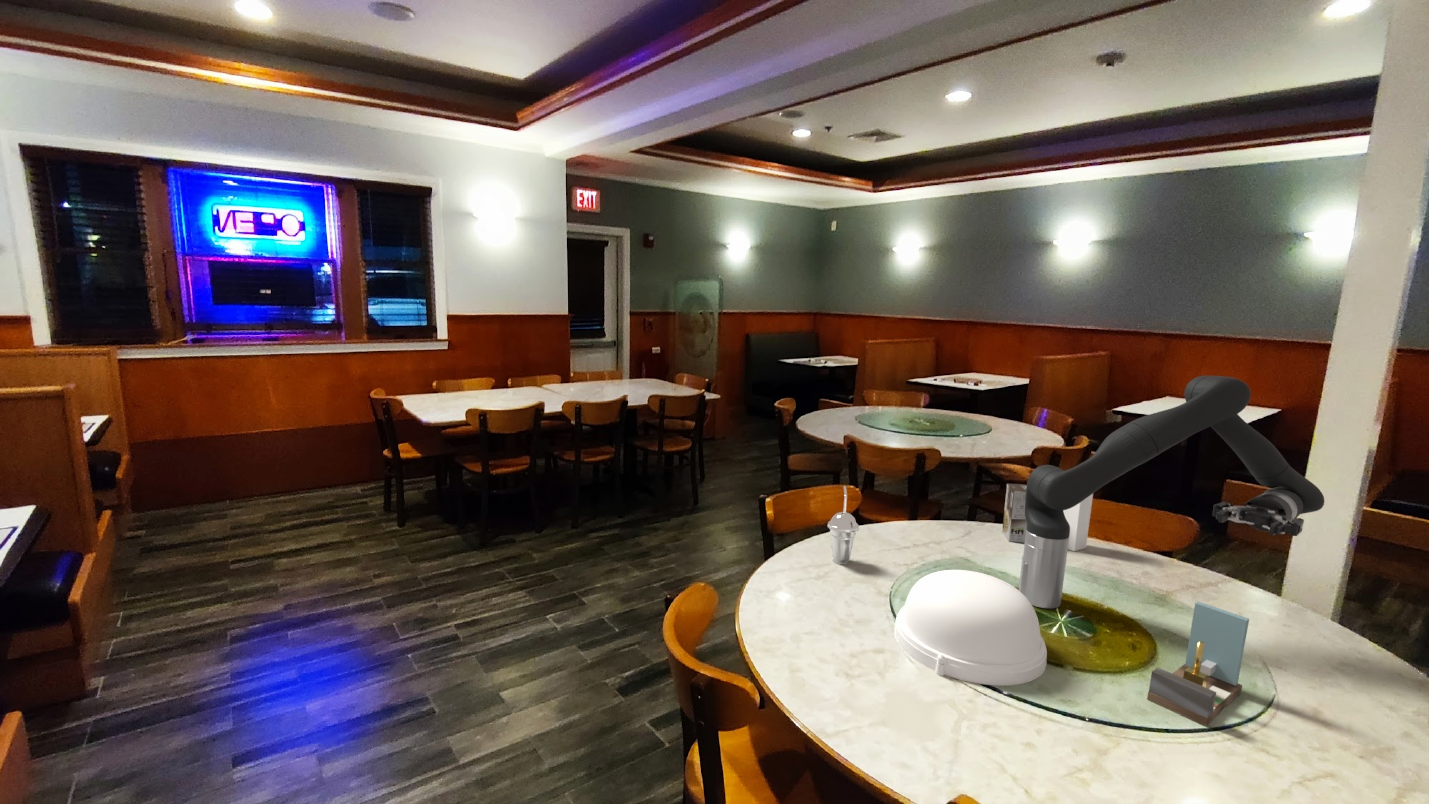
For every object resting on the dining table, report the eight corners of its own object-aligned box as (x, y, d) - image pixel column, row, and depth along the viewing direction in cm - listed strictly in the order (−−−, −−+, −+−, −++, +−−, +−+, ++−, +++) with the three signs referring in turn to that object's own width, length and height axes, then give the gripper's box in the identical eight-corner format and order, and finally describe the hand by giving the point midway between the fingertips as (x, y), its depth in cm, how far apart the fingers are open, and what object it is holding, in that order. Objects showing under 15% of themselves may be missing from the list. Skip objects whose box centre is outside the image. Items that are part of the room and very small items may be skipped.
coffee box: (1031, 543, 194) (1037, 492, 192) (1008, 541, 195) (1014, 490, 193) (1023, 533, 203) (1028, 484, 200) (1001, 531, 204) (1006, 482, 202)
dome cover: (928, 596, 157) (933, 542, 155) (1063, 641, 138) (1071, 579, 136) (867, 647, 133) (872, 583, 131) (1020, 710, 114) (1029, 636, 112)
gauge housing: (1185, 669, 128) (1189, 644, 127) (1241, 692, 121) (1245, 665, 120) (1147, 699, 118) (1151, 671, 117) (1205, 726, 111) (1210, 697, 110)
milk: (1086, 548, 192) (1096, 477, 188) (1074, 551, 189) (1084, 479, 185) (1066, 541, 197) (1076, 472, 194) (1054, 544, 194) (1063, 474, 191)
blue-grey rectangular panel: (1188, 662, 127) (1198, 601, 125) (1237, 683, 121) (1249, 618, 119) (1179, 669, 124) (1189, 607, 122) (1229, 690, 118) (1240, 625, 116)
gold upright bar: (1186, 678, 120) (1193, 637, 119) (1205, 686, 118) (1212, 644, 116) (1182, 682, 119) (1189, 640, 118) (1201, 690, 116) (1208, 647, 115)
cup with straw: (820, 561, 175) (824, 491, 172) (833, 551, 183) (838, 484, 180) (849, 570, 171) (854, 497, 167) (862, 559, 178) (867, 490, 175)
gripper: (1233, 486, 146) (1207, 497, 137) (1316, 503, 135) (1293, 516, 126) (1228, 517, 148) (1201, 530, 138) (1310, 537, 136) (1287, 552, 127)
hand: (1245, 523), depth 132 cm, fingers open, 8 cm apart
